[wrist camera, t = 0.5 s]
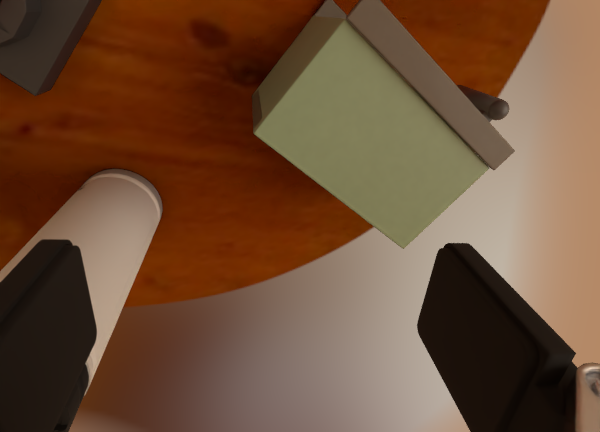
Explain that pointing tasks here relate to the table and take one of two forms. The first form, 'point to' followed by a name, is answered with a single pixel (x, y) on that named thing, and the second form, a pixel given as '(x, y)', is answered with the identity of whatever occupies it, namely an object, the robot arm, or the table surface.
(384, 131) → the cupboard
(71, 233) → the travel mug
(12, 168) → the table surface
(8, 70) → the control block
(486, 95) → the door
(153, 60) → the table surface
